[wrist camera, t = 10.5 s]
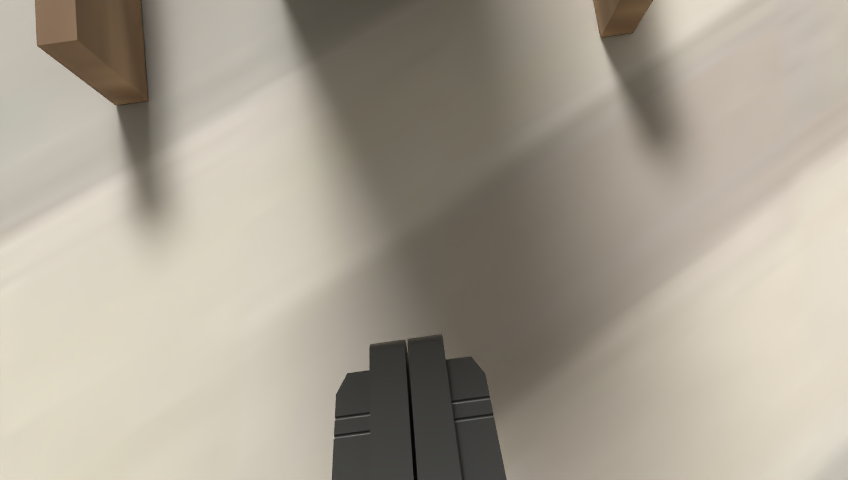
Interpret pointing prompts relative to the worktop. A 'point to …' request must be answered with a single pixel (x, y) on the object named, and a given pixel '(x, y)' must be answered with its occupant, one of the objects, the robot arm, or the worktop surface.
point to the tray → (124, 45)
